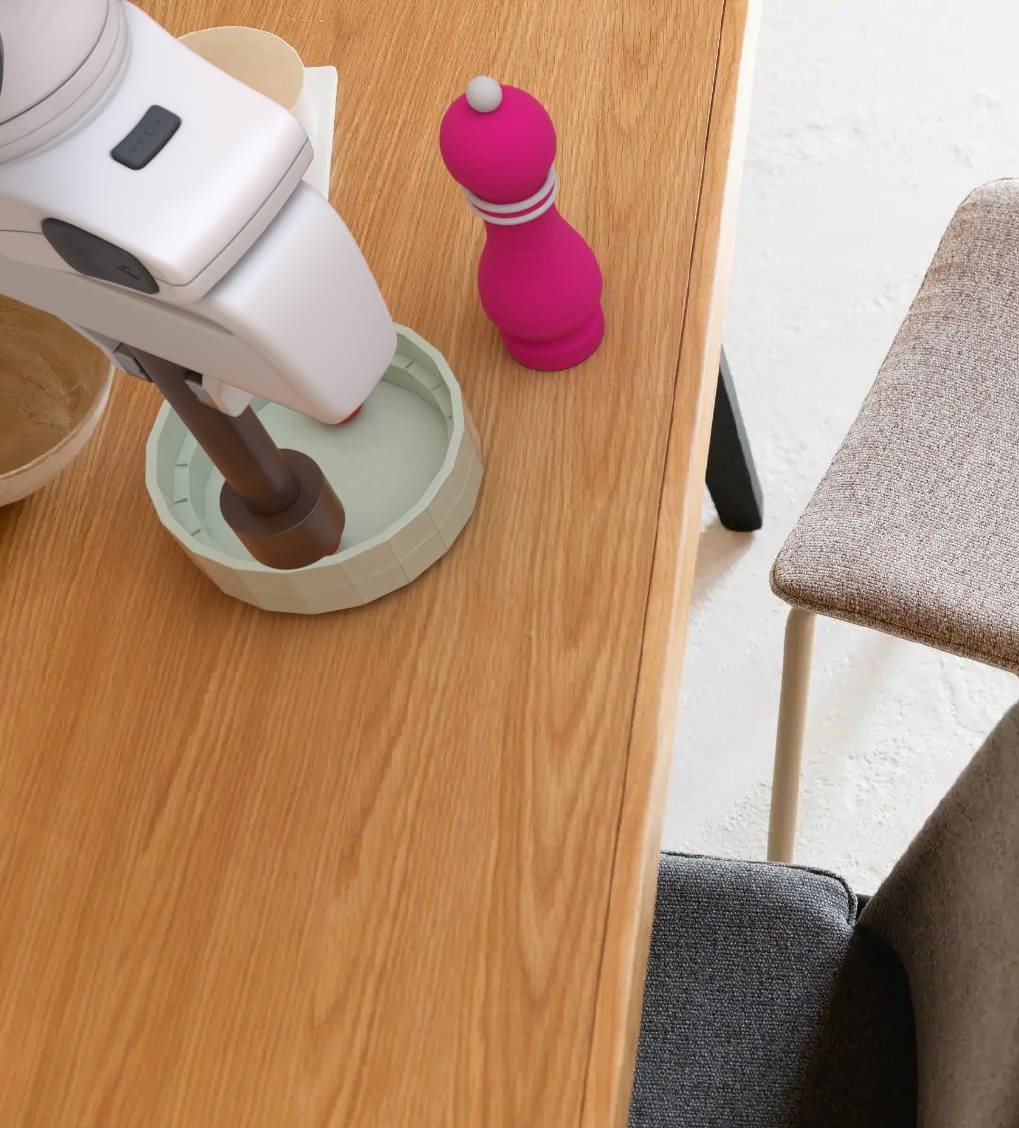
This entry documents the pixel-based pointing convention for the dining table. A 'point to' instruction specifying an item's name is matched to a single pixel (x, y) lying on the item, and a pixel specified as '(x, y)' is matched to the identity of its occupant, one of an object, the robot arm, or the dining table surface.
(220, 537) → the bowl
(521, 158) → the pepper mill
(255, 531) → the muddler
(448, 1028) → the dining table surface
